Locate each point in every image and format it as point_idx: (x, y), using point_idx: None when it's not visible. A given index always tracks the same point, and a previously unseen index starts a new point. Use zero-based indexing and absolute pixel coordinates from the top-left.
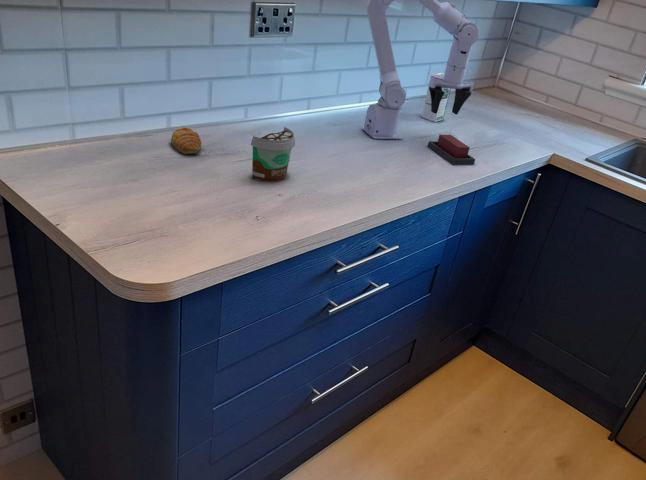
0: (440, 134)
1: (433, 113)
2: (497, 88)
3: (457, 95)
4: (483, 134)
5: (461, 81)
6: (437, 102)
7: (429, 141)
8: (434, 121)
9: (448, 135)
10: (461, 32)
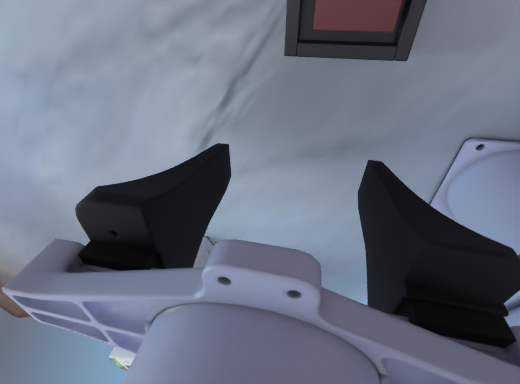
0: (388, 30)
1: (204, 258)
2: (13, 313)
3: (191, 240)
4: (83, 154)
5: (183, 350)
6: (416, 197)
7: (406, 57)
8: (206, 238)
9: (340, 12)
10: None
